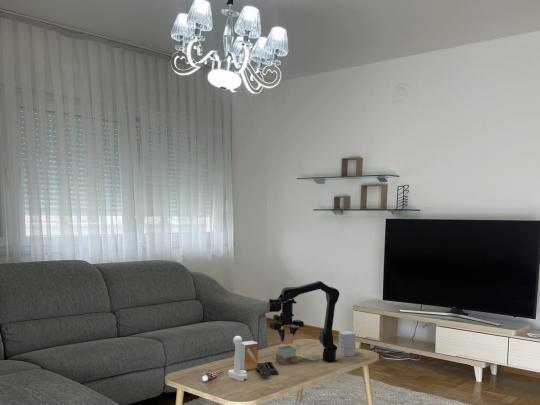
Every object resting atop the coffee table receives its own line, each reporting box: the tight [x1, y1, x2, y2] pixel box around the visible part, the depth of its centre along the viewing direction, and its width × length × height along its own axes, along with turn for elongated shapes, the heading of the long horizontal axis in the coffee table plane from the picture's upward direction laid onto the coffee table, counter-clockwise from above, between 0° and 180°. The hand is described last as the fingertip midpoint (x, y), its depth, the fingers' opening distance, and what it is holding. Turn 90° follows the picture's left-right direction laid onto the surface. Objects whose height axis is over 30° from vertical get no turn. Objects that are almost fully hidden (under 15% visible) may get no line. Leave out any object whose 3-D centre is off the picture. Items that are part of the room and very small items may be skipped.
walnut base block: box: [275, 353, 298, 366], centre depth 265 cm, size 8×8×4 cm
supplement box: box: [338, 330, 356, 358], centre depth 283 cm, size 7×7×13 cm
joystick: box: [228, 335, 248, 382], centre depth 240 cm, size 11×8×20 cm
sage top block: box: [277, 345, 297, 358], centre depth 265 cm, size 7×7×4 cm
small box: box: [240, 340, 259, 371], centre depth 254 cm, size 8×6×13 cm
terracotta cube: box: [279, 331, 294, 345], centre depth 266 cm, size 5×5×5 cm
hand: (286, 340), depth 266 cm, fingers closed on terracotta cube, 5 cm apart
